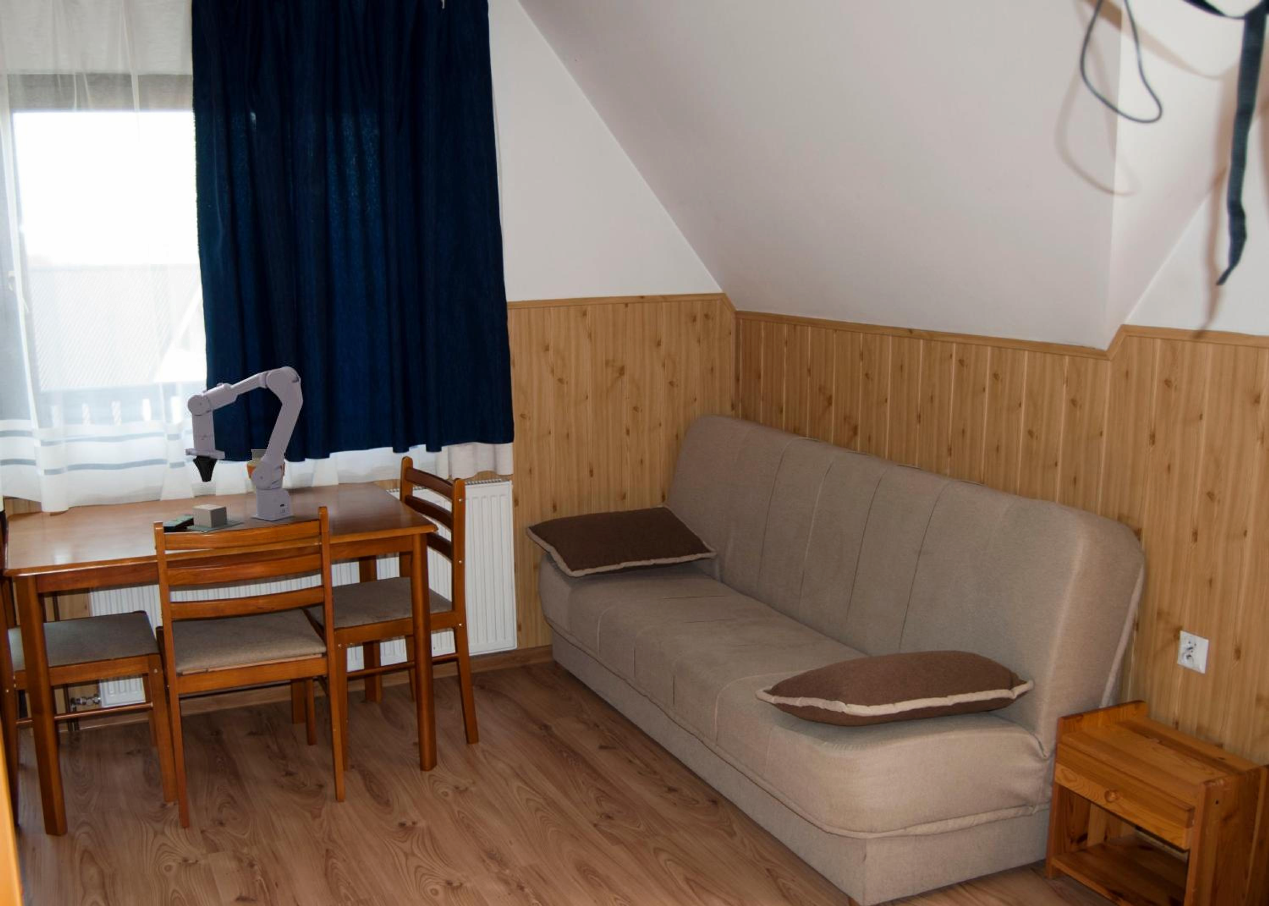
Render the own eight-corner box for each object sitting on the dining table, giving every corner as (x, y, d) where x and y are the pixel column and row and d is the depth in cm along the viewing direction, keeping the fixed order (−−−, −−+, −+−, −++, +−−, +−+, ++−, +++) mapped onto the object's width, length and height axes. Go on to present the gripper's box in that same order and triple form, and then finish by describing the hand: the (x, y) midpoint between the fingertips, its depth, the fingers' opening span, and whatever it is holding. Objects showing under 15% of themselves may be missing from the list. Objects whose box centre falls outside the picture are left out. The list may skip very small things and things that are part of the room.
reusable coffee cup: (296, 490, 377) (293, 444, 375) (266, 497, 366) (263, 450, 364) (269, 486, 383) (266, 441, 381) (238, 493, 373) (235, 447, 370)
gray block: (208, 521, 332) (227, 524, 328) (194, 524, 328) (212, 527, 324) (207, 503, 331) (226, 506, 327) (192, 507, 327) (211, 510, 323)
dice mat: (243, 523, 330) (243, 522, 330) (205, 532, 320) (205, 531, 319) (222, 519, 335) (222, 518, 335) (184, 528, 324) (184, 527, 324)
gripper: (175, 435, 336) (178, 481, 338) (209, 439, 328) (212, 486, 331) (195, 432, 342) (198, 477, 344) (229, 435, 334) (232, 482, 336)
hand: (206, 481), depth 338 cm, fingers closed
